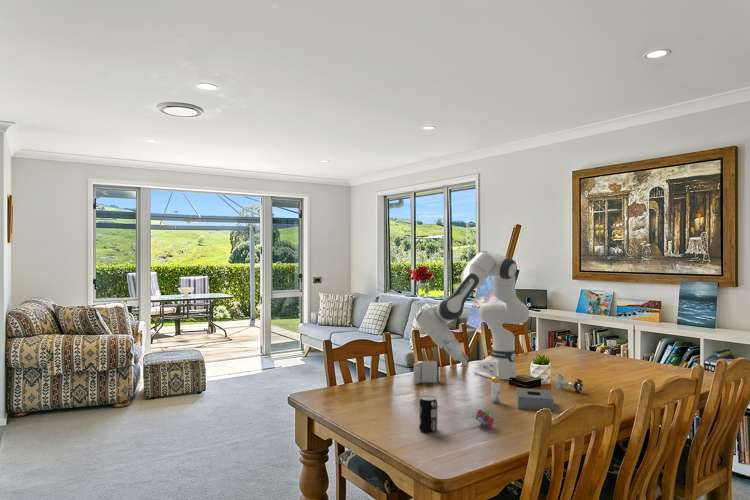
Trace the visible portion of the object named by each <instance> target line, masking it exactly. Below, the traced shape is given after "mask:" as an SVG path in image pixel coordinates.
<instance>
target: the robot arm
mask: <svg viewBox="0 0 750 500" xmlns="http://www.w3.org/2000/svg"><path fill="white" fill-rule="evenodd" d="M517 270H518V265H517V262H516V261H515V260H514V259H513V258H511V257H508V256H507V257H506V256H505V255H502V254H499V253H495V252H494V253H493V252H488V251H486V250H482V251H479V252H477V253H476V254H475V256H474V257H473V258H472V259H471V260H470V261H469V262H468V263H467V265H466V266H465V267H464V269H463V270H462V272H461V274H460V281H461V283H460V284H459V285H458V286H457V288H456V289H455V291H454V292H453V293H452V294H451V295H449V296H446V297H444V298H443V299H442V301H441V302H439V303H438V304H435V305H434V306H429V307H423V308H422V309H421V311H420V312H419V313H418V314H417V316H416V324H418V326H419V327H420V328H421V330H422V331H423V332H424V333H425V334H426V335H427V336H429V337H430V338H431V340H432V342H433V343H434V344H435V345H436V346H438V348H439V349H444V351H445V352H446V353H447V354H448V356H450V357H451V358H452V359H453V361H455V362H457V361H459V362H460V363H461V364H462V365H463V366H465V367H466V366H468V364H469V361H468V360H469V357H468V355H467V354H466V353H465V352H464V347H463V345H462V344H461V343H460V342H459V340H458V339H457V338H456V337H455V334H454V333H453V332H452V331H451V329H450V328H449V327H448V326H447V325H448V324H450V323H452V322H453V321H454V320H457V319H458V318H460V317H461V316H462V314H463V312H464V307H465V303H466V301H467V299H469V297H470V295H471V294H472V293H473V292H474V290H477V289H478V288H479V287H481V285H482V284H484V282H485V281H486V280H487V279H488V277H489V276H490V277H492V292H493V293H492V294H493V295H494V297H495V298H497V299H498V300H499V301H500V302H499V301H498V302H497V301H490V302H484V303H482V304H481V305H480V307H479V309H478V315H479V318H480V319H481V321H482V322H483V323H485V324H486V325H487V326H488V328H489V330H490V332H491V336H492V349H489V350H488V353H490V354H489V355H488V356H487V357H486V358H484V359H483V360H481V361H480V363H479V366H478V369H476V370H475V371H474V374H476V375H477V376H482V377H486V378H488V379H491V377H492V376H498V377H500V380H510V379H509V378H510V377H515V376H518V374H517V369H516V349H515V344H516V343H515V342H516V341H515V335H514V333H513V332H512V331H510V330H508V329H506V328H504V327H503V324H510V325H511V324H513V325H515V324H516V325H518V324H524V323H526V322H527V321H528V320H529V318H530V310H529V307H528V306H527V305H526V304H525V303H523V302H522V301H521V300H520V299H519V298H518V296H517V293H516V292H517V290H516V272H517Z"/></svg>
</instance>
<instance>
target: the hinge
mask: <svg viewBox="0 0 750 500" xmlns="http://www.w3.org/2000/svg"><path fill="white" fill-rule="evenodd" d="M439 371H440V362H439V361H437V360H422V361H421V360H420V361H419V360H417V361H416V363H414V362H413V385H417V384H421V383H423V384H424V383H439V382H440V379H439V378H440V372H439Z"/></svg>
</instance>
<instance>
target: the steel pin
mask: <svg viewBox="0 0 750 500" xmlns="http://www.w3.org/2000/svg"><path fill="white" fill-rule="evenodd" d="M490 379H491V381H490V383H491V384H490V386H491V387H490V388H491V392H490V395H491V396H490V403H492V404H494V405H495V404H498V405H499V404H500V401H501V396H500V395H501V392H500V390H501V379H500V377H498V376H492V377H491V378H490Z"/></svg>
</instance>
